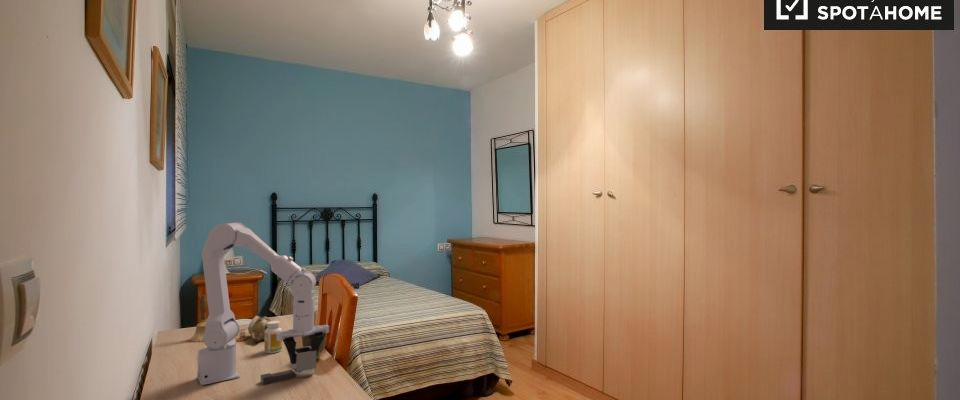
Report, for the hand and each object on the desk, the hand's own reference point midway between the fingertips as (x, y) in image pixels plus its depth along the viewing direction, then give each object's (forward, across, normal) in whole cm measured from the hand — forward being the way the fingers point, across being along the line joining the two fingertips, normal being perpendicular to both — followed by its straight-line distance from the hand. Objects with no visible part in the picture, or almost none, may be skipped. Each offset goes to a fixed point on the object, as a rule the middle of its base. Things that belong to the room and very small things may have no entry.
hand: (303, 360), depth 134 cm
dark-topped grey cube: (+2, 0, 0) cm, 2 cm away
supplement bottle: (+4, -1, +27) cm, 27 cm away
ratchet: (+4, -4, 0) cm, 6 cm away
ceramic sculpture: (+4, 0, +44) cm, 44 cm away
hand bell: (+4, -17, +57) cm, 60 cm away
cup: (+4, +7, +11) cm, 14 cm away
